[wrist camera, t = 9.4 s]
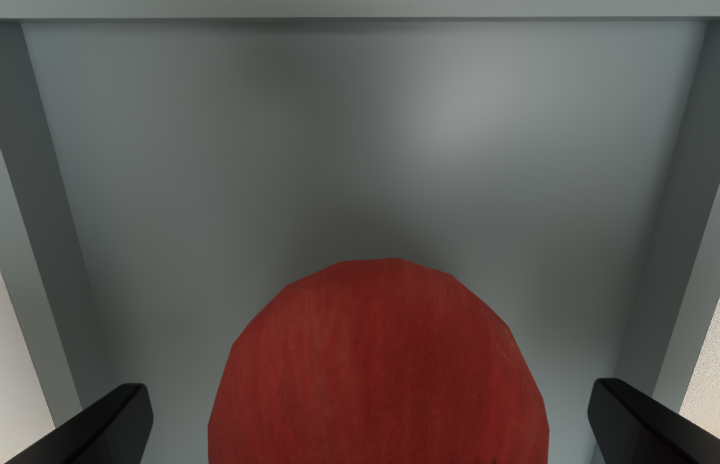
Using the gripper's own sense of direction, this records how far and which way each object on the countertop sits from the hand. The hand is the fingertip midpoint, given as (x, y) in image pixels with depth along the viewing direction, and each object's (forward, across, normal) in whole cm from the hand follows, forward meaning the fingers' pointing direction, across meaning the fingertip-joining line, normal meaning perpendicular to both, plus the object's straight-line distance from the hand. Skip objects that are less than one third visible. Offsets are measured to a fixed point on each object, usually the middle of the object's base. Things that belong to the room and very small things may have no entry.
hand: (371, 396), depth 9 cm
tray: (+4, 0, 0) cm, 4 cm away
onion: (+3, 0, 0) cm, 3 cm away
